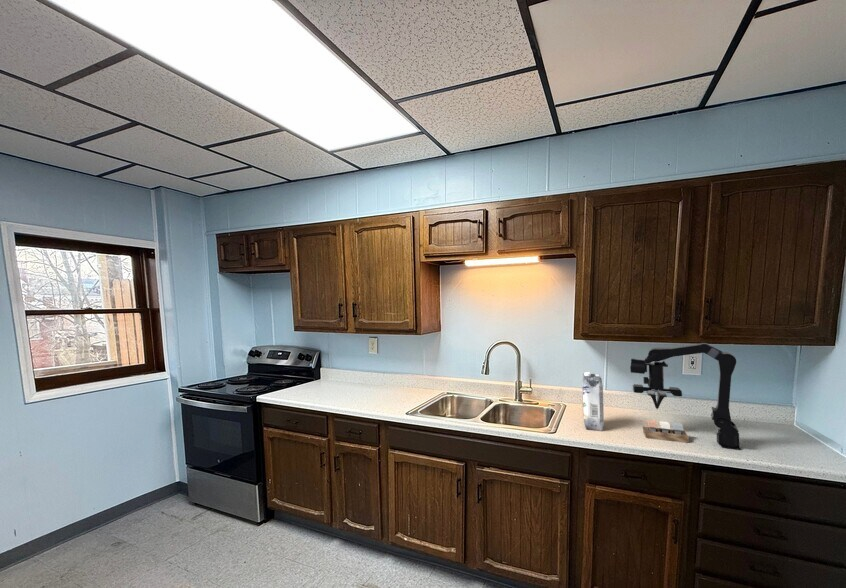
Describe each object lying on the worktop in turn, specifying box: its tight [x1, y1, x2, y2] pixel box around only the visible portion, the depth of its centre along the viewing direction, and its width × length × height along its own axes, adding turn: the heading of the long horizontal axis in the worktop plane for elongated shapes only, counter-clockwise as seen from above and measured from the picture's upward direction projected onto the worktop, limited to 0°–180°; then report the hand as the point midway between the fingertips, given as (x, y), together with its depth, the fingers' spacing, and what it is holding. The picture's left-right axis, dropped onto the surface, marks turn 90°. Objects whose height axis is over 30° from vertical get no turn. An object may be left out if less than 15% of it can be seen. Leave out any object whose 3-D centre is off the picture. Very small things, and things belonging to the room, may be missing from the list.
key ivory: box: [658, 420, 671, 433], centre depth 161 cm, size 3×3×5 cm
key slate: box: [671, 422, 684, 434], centre depth 159 cm, size 3×3×5 cm
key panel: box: [642, 426, 690, 444], centre depth 161 cm, size 16×7×3 cm, turn 67°
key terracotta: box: [646, 419, 659, 432], centre depth 162 cm, size 3×3×5 cm
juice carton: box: [581, 371, 605, 432], centre depth 175 cm, size 9×10×27 cm
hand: (656, 408), depth 165 cm, fingers closed
